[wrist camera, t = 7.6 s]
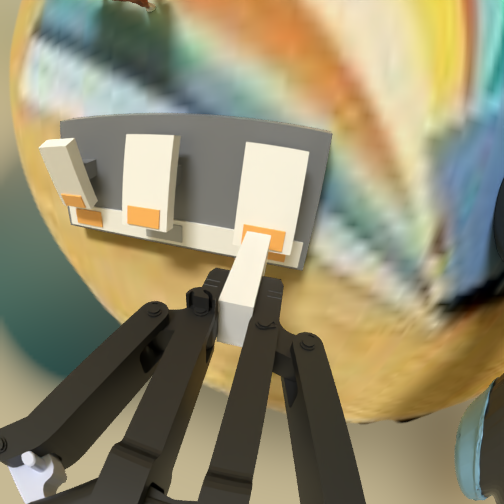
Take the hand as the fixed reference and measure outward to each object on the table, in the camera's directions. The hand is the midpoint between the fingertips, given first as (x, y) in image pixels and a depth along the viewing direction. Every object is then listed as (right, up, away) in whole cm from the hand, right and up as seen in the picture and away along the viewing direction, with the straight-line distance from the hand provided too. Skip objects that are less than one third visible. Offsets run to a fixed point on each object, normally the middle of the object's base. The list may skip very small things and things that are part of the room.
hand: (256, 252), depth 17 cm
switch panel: (-7, +7, +6) cm, 11 cm away
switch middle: (-8, +5, +2) cm, 10 cm away
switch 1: (-17, +7, +2) cm, 18 cm away
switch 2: (+1, +4, +1) cm, 4 cm away
